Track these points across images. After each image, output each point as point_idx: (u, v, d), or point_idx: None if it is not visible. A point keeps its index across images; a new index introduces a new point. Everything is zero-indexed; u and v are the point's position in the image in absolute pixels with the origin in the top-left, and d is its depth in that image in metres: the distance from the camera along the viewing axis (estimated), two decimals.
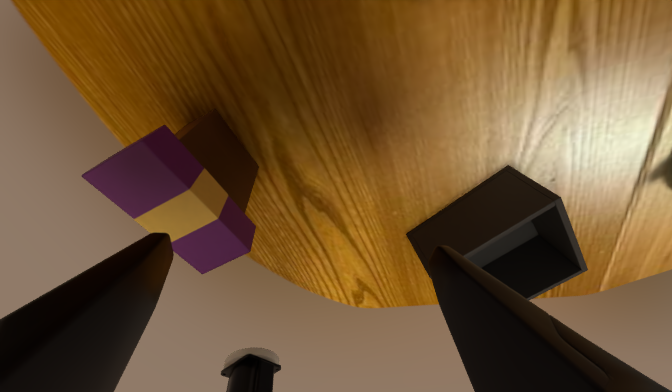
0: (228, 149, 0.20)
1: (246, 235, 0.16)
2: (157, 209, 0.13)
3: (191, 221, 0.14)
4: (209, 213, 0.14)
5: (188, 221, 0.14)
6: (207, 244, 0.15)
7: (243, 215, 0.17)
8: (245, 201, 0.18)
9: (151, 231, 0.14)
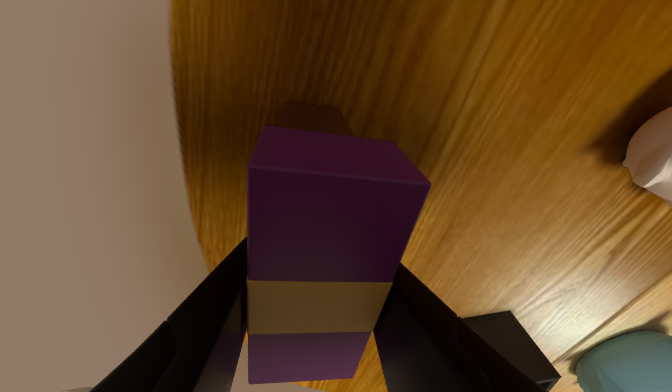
0: None
1: None
2: (310, 285, 0.06)
3: (334, 319, 0.07)
4: (372, 321, 0.07)
5: (330, 319, 0.07)
6: (312, 353, 0.08)
7: None
8: None
9: (253, 309, 0.06)
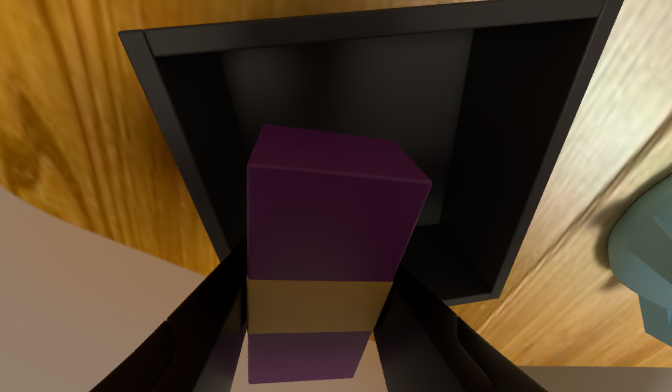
0: None
1: None
2: (310, 284, 0.06)
3: (334, 319, 0.07)
4: (372, 321, 0.07)
5: (331, 319, 0.07)
6: (312, 353, 0.08)
7: None
8: None
9: (253, 308, 0.06)
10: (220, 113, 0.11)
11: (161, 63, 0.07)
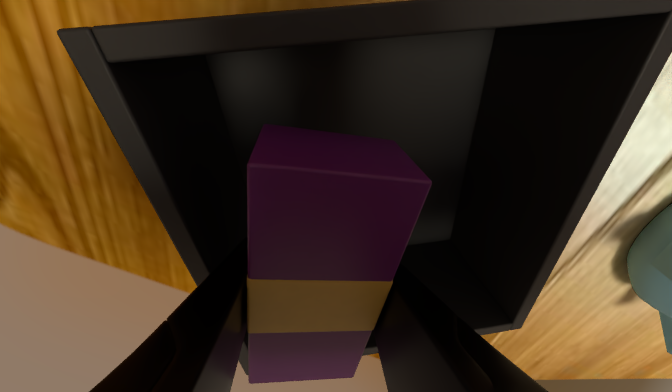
0: None
1: None
2: (310, 284, 0.06)
3: (334, 318, 0.07)
4: (373, 320, 0.07)
5: (331, 318, 0.07)
6: (312, 352, 0.08)
7: None
8: None
9: (253, 308, 0.06)
10: (206, 125, 0.09)
11: (120, 71, 0.05)
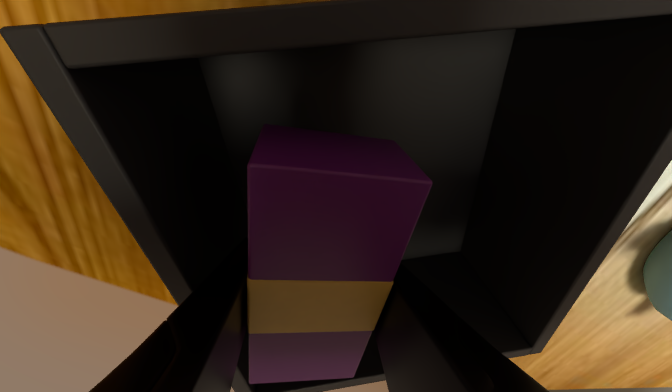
0: None
1: None
2: (310, 284, 0.06)
3: (335, 319, 0.07)
4: (373, 320, 0.07)
5: (331, 318, 0.07)
6: (313, 353, 0.08)
7: None
8: None
9: (254, 308, 0.06)
10: (198, 135, 0.08)
11: (84, 78, 0.04)
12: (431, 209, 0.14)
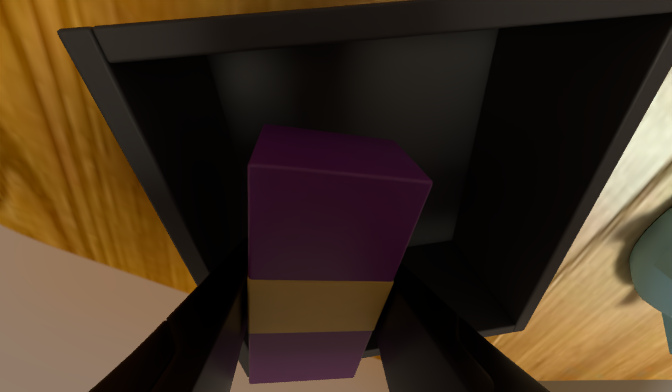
0: None
1: None
2: (310, 284, 0.06)
3: (334, 319, 0.07)
4: (373, 320, 0.07)
5: (331, 318, 0.07)
6: (313, 353, 0.08)
7: None
8: None
9: (254, 308, 0.06)
10: (207, 126, 0.09)
11: (121, 72, 0.05)
12: None
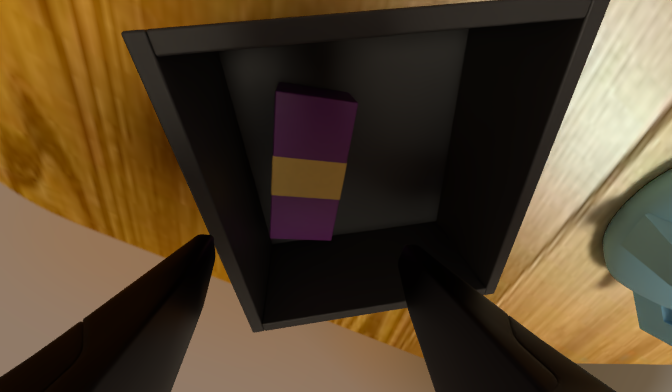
0: None
1: None
2: (303, 161, 0.12)
3: (317, 188, 0.13)
4: (338, 191, 0.13)
5: (315, 187, 0.13)
6: (306, 214, 0.14)
7: None
8: None
9: (275, 176, 0.13)
10: (220, 112, 0.11)
11: (162, 63, 0.07)
12: (409, 182, 0.17)
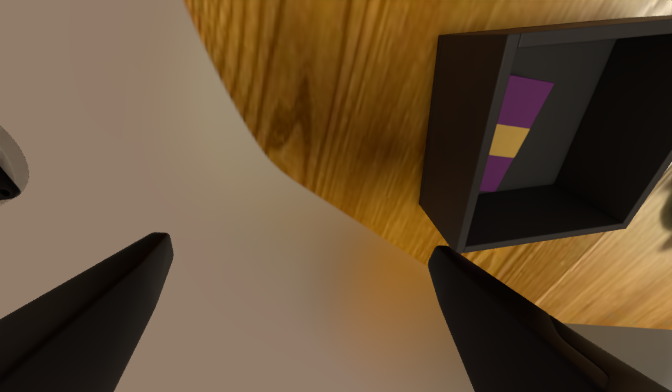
0: None
1: None
2: (502, 126, 0.17)
3: (503, 148, 0.18)
4: (516, 151, 0.18)
5: (502, 147, 0.18)
6: (487, 169, 0.19)
7: None
8: None
9: None
10: None
11: (511, 52, 0.12)
12: (544, 150, 0.22)
